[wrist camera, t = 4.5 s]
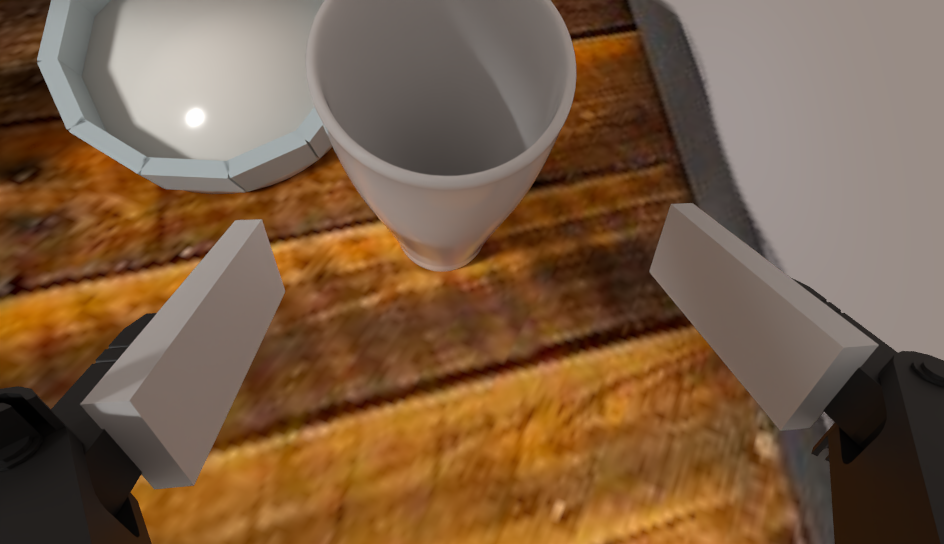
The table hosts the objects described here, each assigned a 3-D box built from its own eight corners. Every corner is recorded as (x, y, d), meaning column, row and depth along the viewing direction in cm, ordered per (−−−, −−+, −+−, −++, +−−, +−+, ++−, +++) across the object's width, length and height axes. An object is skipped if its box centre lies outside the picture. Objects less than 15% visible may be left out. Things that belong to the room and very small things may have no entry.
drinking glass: (427, 158, 25) (409, -107, 10) (517, 217, 25) (630, 32, 10) (363, 244, 24) (236, 82, 9) (457, 307, 23) (486, 247, 9)
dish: (19, 99, 24) (-30, 71, 21) (202, -89, 27) (178, -133, 24) (259, 246, 23) (238, 235, 21) (416, 36, 26) (413, 5, 24)
